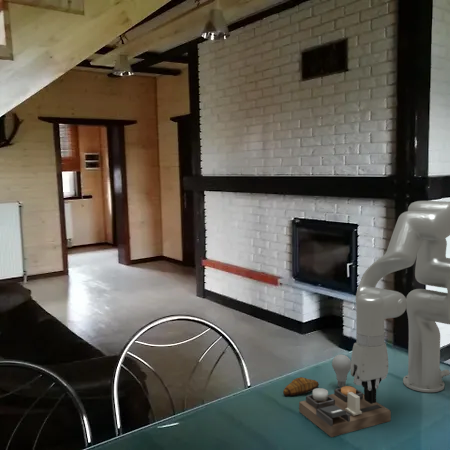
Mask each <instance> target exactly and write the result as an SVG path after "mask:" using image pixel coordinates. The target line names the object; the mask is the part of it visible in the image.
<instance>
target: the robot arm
mask: <svg viewBox="0 0 450 450" xmlns="http://www.w3.org/2000/svg"><path fill="white" fill-rule="evenodd" d="M392 231H393V232H392V234H391V238H390V240H389V244H388V247H387V249H386V250H385V251H386V252H385V254H383V255H382V256H381V257H379V258H378V259H377V260H375V261H374V262H373V263H372V264H371V265H370V266H368V268H367V269H366V270H365V271H364V273H363V274H362V277H361V278H360V282H359V284H358V287H357V289H356V293H355V304H356V306H355V307H356V313H355V314H356V316H355V317H356V318H355V319H356V321H355V322H356V323H355V324H356V326H355V328H356V342H354V343H353V346H352V349H351V359H350V361H351V369H350V376H351V377H354V378H353V381H352V383H353V384H354V385H356V386H362V388H363V394H364V399H365V400H366V401H367V402H369V403H370V404H373V403H376V402H377V389H379V385H380V383H381V382H382V381H383V380H385V379H387V375H388V374H389V355H388V354H389V353H388V348H387V347H388V346H387V344H386V342H385V337H387V332H386V331H385V320H386V319H394V318H398V317H401V316H402V315H403V314H404V313H405V311H406V313H407V319H408V320H407V321H408V364H407V366H408V367H407V369H408V371H407V372H408V373H407V375H405V376H403V378H402V383H403V385H404V386H405V387H407V388H409V389H410V390H413V391H417V392H420V393H437V392H441V391H443V390H444V389H445V382H444V381H443V380H442V379H443V378H444V377H448V376H450V370H449V369H443V370H441V369H440V368H441V367H440V365H441V364H440V363H441V362H440V361H441V360H440V359H441V331H440V328H439V327H438V324H437V323H441V324H445V325H450V257H447V255H446V254H447V246H448V243H447V238H448V237H450V201H445V200H444V201H439V200H417V201H414V202H411V203H410V204H409V206H408V207H407V211H404V212H402V213H400V215H399V216H398V218H397V221H396V223H395V226H394V228H393V230H392ZM414 264H415V268H414V269H415V270H414V276H415V280H416V281H417V282H418V283H419V284H422V285H424V286H425V285H426V286H430V287H437V288H443V289H446V290H447V291H446V292H444V291H438V290H432V289H424V288H416V289H413V290H411V291H410V292H408V294H407V295H406V296H405V295H404V294H403V293H402V292H399V291H397V290H390V289H385V288H381V287H376V286H377V284H379V281H380V280H381V279H382V278H384V277H386V276H388V275H389V274H391V273H392V274H393V273H395V272H397V271H401V270H405V269H406V268H410V267H412V266H413V265H414Z"/></svg>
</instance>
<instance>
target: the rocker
mask: <svg viewBox="0 0 450 450" xmlns="http://www.w3.org/2000/svg"><path fill="white" fill-rule="evenodd" d="M320 410H321V411H322V412H323V413H325V414H326V415H327V416H329V417H331V418H335V417H338V416H342V415H346V411H345V410H343V409H340V408H338V407H335V406H333V405H332V406H328V407H324V408H320Z"/></svg>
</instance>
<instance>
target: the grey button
mask: <svg viewBox="0 0 450 450" xmlns="http://www.w3.org/2000/svg"><path fill="white" fill-rule="evenodd" d="M312 394H313V399H315V400H318V401H324V400H327V399H328V395H329V391H328V390H327V389H326V388H323V387H322V388H321V387H317V388H316V389H314V390H312Z"/></svg>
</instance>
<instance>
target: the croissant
mask: <svg viewBox="0 0 450 450" xmlns="http://www.w3.org/2000/svg"><path fill="white" fill-rule="evenodd" d="M319 385H320V384H319V381H317V380H315V379H310V378H306V377H301V376H300V377H297V378H294V379H293V380H292V381H291V382H290V383H289V384H288V385H286V386H285V387H284V388H283V396H286V397H292V396H299V395H305V394H308V393H310V392H313V390H314V389H316V388H319Z"/></svg>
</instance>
